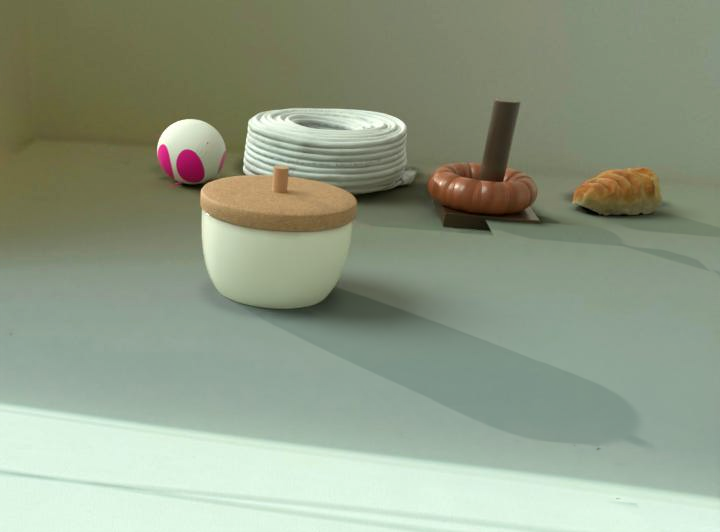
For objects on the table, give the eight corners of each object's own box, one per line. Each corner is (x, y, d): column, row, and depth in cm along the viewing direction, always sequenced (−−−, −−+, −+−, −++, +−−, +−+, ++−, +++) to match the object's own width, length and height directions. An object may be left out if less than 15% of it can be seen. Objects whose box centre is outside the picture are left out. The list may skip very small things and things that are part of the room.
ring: (520, 194, 95) (527, 164, 93) (542, 221, 87) (550, 189, 85) (420, 186, 95) (425, 156, 93) (432, 213, 87) (438, 181, 85)
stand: (520, 209, 95) (547, 95, 88) (536, 233, 88) (567, 112, 81) (433, 202, 95) (453, 88, 88) (442, 226, 88) (465, 104, 81)
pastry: (602, 221, 93) (614, 179, 90) (552, 204, 97) (562, 165, 95) (662, 213, 97) (675, 173, 95) (612, 197, 101) (623, 159, 99)
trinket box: (172, 316, 65) (174, 170, 59) (230, 275, 73) (236, 142, 67) (317, 345, 62) (334, 195, 56) (360, 299, 70) (379, 163, 64)
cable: (424, 179, 102) (435, 118, 99) (368, 212, 90) (377, 143, 86) (283, 155, 108) (288, 96, 104) (212, 182, 96) (214, 116, 92)
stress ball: (152, 212, 97) (126, 160, 92) (191, 156, 99) (167, 101, 93) (209, 224, 94) (185, 171, 88) (248, 166, 95) (227, 109, 90)
